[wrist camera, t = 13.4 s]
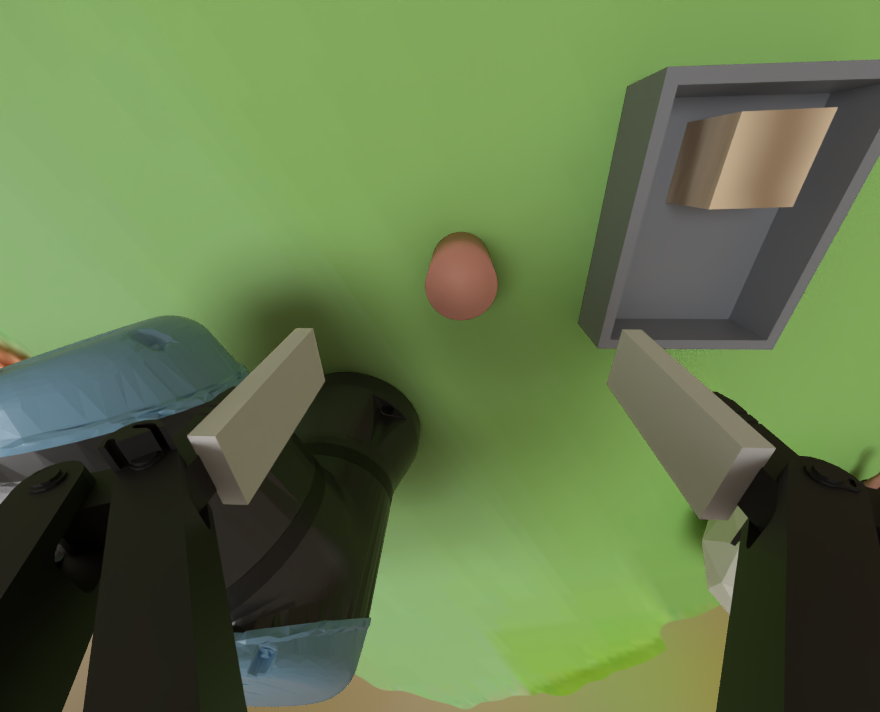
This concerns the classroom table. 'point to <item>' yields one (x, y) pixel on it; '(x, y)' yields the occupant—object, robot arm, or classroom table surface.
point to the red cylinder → (461, 277)
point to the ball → (731, 551)
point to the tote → (722, 230)
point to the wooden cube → (748, 158)
